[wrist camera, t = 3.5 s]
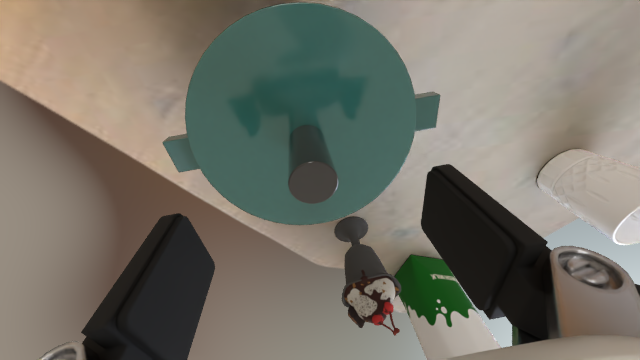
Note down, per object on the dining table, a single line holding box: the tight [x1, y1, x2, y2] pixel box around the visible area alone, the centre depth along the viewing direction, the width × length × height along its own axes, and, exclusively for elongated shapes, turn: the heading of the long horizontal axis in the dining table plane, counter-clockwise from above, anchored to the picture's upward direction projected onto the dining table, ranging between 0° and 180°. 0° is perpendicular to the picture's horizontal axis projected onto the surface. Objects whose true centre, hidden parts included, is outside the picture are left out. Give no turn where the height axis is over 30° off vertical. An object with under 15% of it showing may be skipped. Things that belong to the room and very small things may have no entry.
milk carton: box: [394, 255, 501, 360], centre depth 33 cm, size 9×9×20 cm
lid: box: [185, 2, 416, 225], centre depth 14 cm, size 15×15×6 cm
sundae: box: [335, 217, 401, 335], centre depth 28 cm, size 7×7×15 cm
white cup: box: [537, 149, 640, 245], centre depth 28 cm, size 8×8×10 cm
